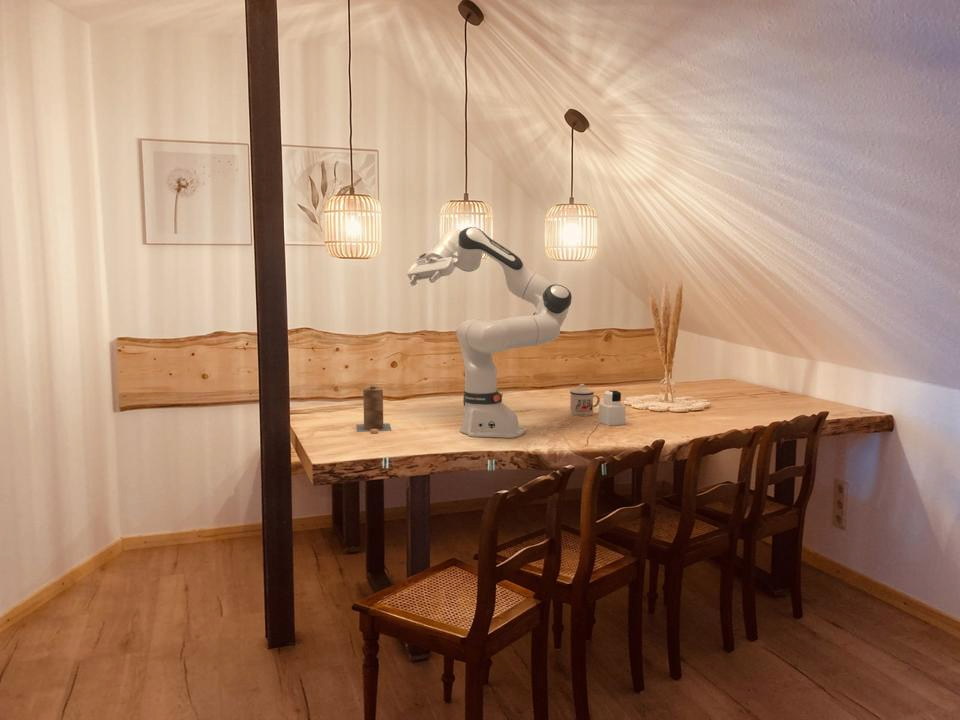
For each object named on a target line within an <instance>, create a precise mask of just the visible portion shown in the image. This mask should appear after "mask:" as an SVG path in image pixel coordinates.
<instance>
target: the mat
mask: <svg viewBox="0 0 960 720" xmlns="http://www.w3.org/2000/svg"><path fill="white" fill-rule="evenodd" d="M355 427H356V433H363V432H365V433H366V432H370V433H371V430H364V423H361V424H359V423H358V424H357V423H356V425H355ZM391 427H392V426H391V423H389V422H388V423H387V422H386V423H385V422H383V429H378V432H392V428H391Z"/></svg>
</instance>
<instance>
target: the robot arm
mask: <svg viewBox="0 0 960 720" xmlns="http://www.w3.org/2000/svg"><path fill="white" fill-rule="evenodd" d="M483 254H485V256H488V257H489V258H490V259H493V260H494V261H496V262H497V263H498V264H499V265H500V267H502V270H503V272H504V276H505V283H506V286H507V288H508V290H509V292H511V294H513V295H514V296H516V297H517V298H519V299H522V300H523V301H526V302H528V303H530V304H532V305H533V306H534V307H535V311H534V312H533V314H529V315H519V316H510V317H506V318H503V319H498V320H497V319H496V320H484V319H478V318H469V319H466V320H464V321H462V322H461V323H460V324H459V325H458V326H457V329H456V339H457V341H458V343H459V345H460V346H459V347H460V350H461V356H462V361H463V366H464V391H463V396H462V397H463V398H462V399H463V402H462V403H463V407H464V408H463V409H464V410H463V411H464V412H463V417H462V422H461V426H460V432H461V433H463V434H465V435H467V436H469V437H475V438H476V437H478V438H481V437H482V438H507V439H513V438H518V437H520V436H523V434H525V433H526V428H525V427H523V426H519V420H518V416H517V413H516V412H515V411H513V410H512V409H511V408H510V407H508V406H507V405H506V404H505V403H503V402H502V401H503V395H504V393H500V392H499V391H498V390H497V389H498V388H497V387H498V383H497V380H498V379H497V378H498V377H497V367H496V365H495V362H494V359H493V355H494V354H497V353H502V352H506V351H508V350H513V349H520V348H526V347H527V348H528V347H529V348H530V347H536V346H542V345H546V344H549V343H552V342H554V341H556V340H557V339H558V338H559V337H560V333H561V327H562V326H563V323H564V321H565V320H566V319H567V315H568V313H569V312H568V311H569V309H570V306H571V304H572V297H573V296H572V293H571V290H569V289H568V288H567V287H565V286H564V285H561V284H555V283H553V282H552V281H551V280H549V279H548V278H546V277H545V276H543V275H541V274H539V273H538V272H536V271H533V270H532V269H531V268H529V267H528V266H527V265H526V264H525V263H524V262H523V261H522V259H521V258H520V257H519V256H518V255H516V254H515V253H513V252H512V251H511V250H510V249H508V248H507V247H505V246H503V245H502V244H499V243H498V242H497V241H495V240H494V239H492V238H491V237H489V236H488V235H487V234H486V233H485V232H484V231H483V230H481V229H480V228H478V227H474V226H471V227H466V228H464V229H462V230H460V229H457V228H452V229H450V230H448V231H447V232H445V233H444V234H443V235H442V236H441V238H440V239H439V240H438V241H437V243H436V245H435V246H434V247H432V249H431V250H429V251H427V252H426V253H423V254H421V255H418V256H417V258H416V261H415V262H413V264H412V265H411V266H410V268H409V269H408V270H407V273H406V274H407V277H408V278H409V280H410V281H409V284H410V286H411V287H412V286H416V285H417V284H418V282H417V281H419V280H420V281H421V280H426V279H428V281H429V282H430V284H433V283H435V282H436V281H437V280H439V279H440V278H442V277H445V276H446V277H447V276H448V277H449V276H450V275H452V273H453V272H454V270H455V268H458V269H460V270H461V271H464V272H468V273H470V272H474V271H476V270H478V269H479V268H480V266H481V262H482V258H483Z"/></svg>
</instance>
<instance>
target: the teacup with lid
mask: <svg viewBox="0 0 960 720" xmlns="http://www.w3.org/2000/svg"><path fill="white" fill-rule="evenodd" d="M569 393H570V402H569V403H570V405H569V406H570V415H573V416H577V417H588V416H589V417H590V416H592V415H593V414H594V408H596V407H599V404H600V403H601V399H600V396H599V395H598V394H594V393H595V392H594V390H593V389H590V388H589V387H587V386H585V383H580V384H579V386H576V387H575V388H572V389H570V392H569ZM594 397H595V398H596V399H597V401H596V403H595V404H594Z"/></svg>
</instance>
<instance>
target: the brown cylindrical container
mask: <svg viewBox="0 0 960 720" xmlns="http://www.w3.org/2000/svg"><path fill="white" fill-rule="evenodd" d="M362 394H363V400H362V401H363V424H364V430H371V429H383V424H384V389H383V386H376V384H370V385H369V386H365V387H364V386H363V390H362Z"/></svg>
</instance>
